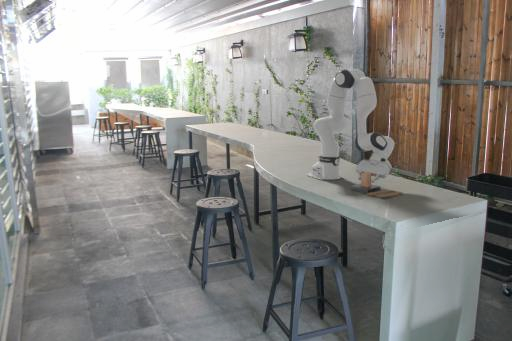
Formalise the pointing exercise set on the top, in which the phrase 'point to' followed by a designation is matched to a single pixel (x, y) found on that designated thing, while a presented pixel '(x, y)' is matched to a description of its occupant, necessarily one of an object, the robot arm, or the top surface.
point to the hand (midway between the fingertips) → (365, 180)
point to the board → (385, 193)
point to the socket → (364, 189)
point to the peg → (366, 179)
